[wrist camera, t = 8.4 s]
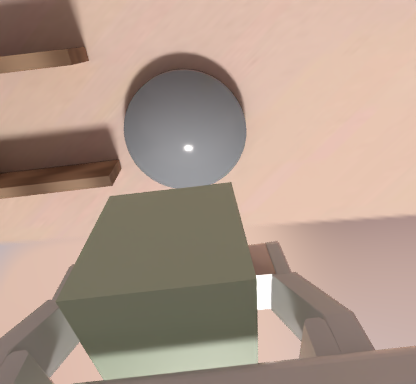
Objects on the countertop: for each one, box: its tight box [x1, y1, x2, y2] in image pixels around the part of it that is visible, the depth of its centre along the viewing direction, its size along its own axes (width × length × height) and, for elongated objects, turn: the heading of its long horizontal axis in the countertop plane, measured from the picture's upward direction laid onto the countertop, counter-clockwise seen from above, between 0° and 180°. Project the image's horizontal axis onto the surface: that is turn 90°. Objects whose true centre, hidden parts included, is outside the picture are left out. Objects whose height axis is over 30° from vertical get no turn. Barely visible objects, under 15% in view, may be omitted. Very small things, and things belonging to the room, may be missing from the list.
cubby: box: [0, 47, 121, 199], centre depth 22 cm, size 14×11×4 cm
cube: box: [55, 182, 258, 380], centre depth 10 cm, size 5×5×5 cm
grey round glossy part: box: [124, 69, 246, 189], centre depth 24 cm, size 11×11×1 cm
